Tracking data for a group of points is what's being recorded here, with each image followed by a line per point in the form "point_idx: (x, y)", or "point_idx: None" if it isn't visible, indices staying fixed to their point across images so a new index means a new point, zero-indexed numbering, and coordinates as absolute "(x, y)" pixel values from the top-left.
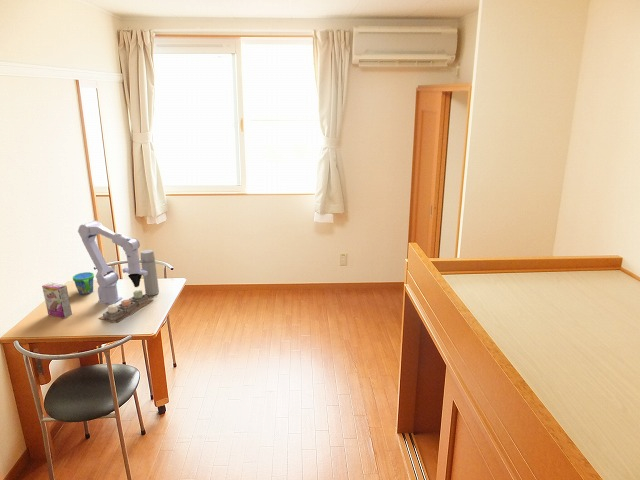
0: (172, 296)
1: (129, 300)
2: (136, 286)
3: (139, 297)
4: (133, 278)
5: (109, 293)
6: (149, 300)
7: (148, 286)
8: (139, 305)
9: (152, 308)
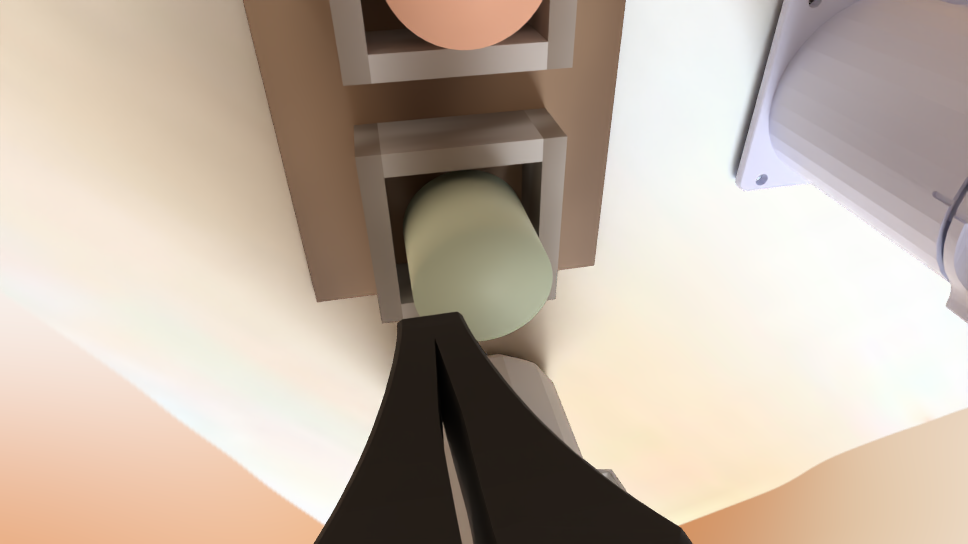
0: (218, 443)
1: (427, 21)
2: (397, 332)
3: (413, 223)
4: (432, 530)
5: (942, 63)
6: (356, 278)
7: None
8: (351, 117)
9: (95, 136)
